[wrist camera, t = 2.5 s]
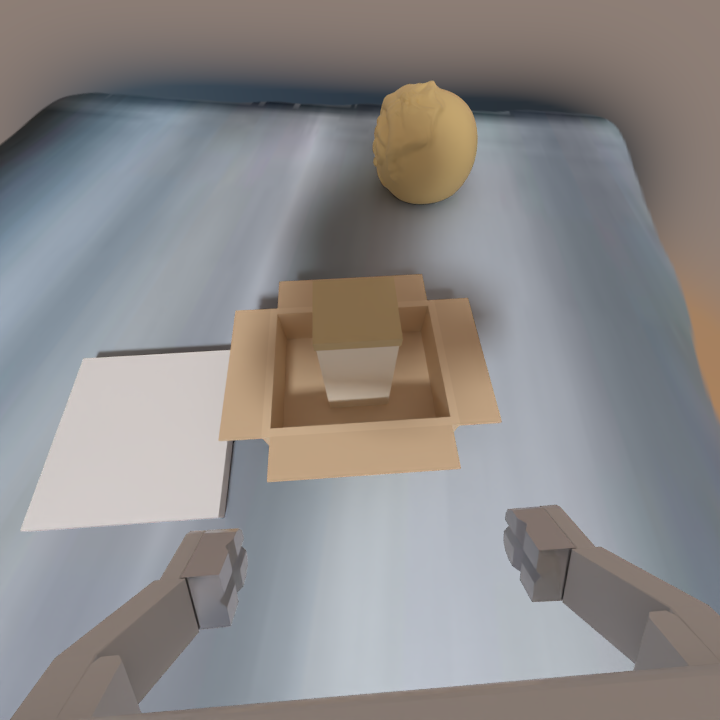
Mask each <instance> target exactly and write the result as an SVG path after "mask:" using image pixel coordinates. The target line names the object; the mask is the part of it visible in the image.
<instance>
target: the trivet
mask: <svg viewBox="0 0 720 720" xmlns="http://www.w3.org/2000/svg"><path fill="white" fill-rule="evenodd" d="M229 357H230V350H221V351H204V352H187V353H170V354H153V355H136V356H119V357H101V358H84V359H83V361H82V364H81V366H80V369H79V372H78V375H77V377H76V380H75V383H74V385H73V388H72V391H71V394H70V396H69V399H68V402H67V405H66V407H65V410H64V413H63V415H62V418H61V421H60V424H59V426H58V429H57V432H56V434H55V437H54V440H53V443H52V445H51V448H50V451H49V454H48V456H47V459H46V462H45V464H44V467H43V470H42V473H41V475H40V478H39V481H38V484H37V486H36V489H35V492H34V494H33V497H32V500H31V503H30V505H29V508H28V511H27V514H26V516H25V519H24V522H23V524H22V527H21V530H20V531H31V532H35V531H49V530H63V529H77V528H91V527H105V526H119V525H132V524H146V523H160V522H174V521H188V520H202V519H216V518H224V516H225V507H226V498H227V490H228V481H229V472H230V463H231V454H232V445H233V440H232V441H219V440H218V439H219V431H220V424H221V416H222V409H223V401H224V394H225V387H226V379H227V372H228V364H229Z"/></svg>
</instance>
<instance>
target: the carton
mask: <svg viewBox="0 0 720 720" xmlns="http://www.w3.org/2000/svg"><path fill="white" fill-rule="evenodd" d="M376 277H394V282H395V289H396V296H397V303H398V309H399V316H400V323H401V330H402V336H403V341H402V345H401V346H399V350H398V355H397V360H396V365H395V370H394V375H393V380H392V385H391V390H390V395H389V400H388V404H385V405H370V406H354V407H338V408H330V405H329V401H328V397H327V393H326V389H325V385H324V381H323V377H322V373H321V368H320V364H319V360H318V356H317V352H316V351H314V348H313V344H312V297H313V281H319V280H301V281H283V282H279V295H278V308H277V309H259V310H241V311H236V312H235V319H234V327H233V334H232V342H231V349H230V357H229V364H228V372H227V379H226V387H225V394H224V401H223V409H222V416H221V424H220V431H219V439H218V440H219V441H232V440H247V439H263V440H264V441H265V442H266V443H267V444H268V445H269V457H268V474H267V482H278V481H293V480H307V479H321V478H336V477H350V476H365V475H379V474H393V473H408V472H422V471H437V470H451V469H460V468H461V467H460V462H459V457H458V452H457V447H456V442H455V437H454V431H455V430H456V429H457V428H458V426H460V425H475V424H490V423H501V422H502V421H501V417H500V414H499V410H498V406H497V403H496V399H495V395H494V392H493V388H492V384H491V381H490V377H489V373H488V370H487V366H486V362H485V359H484V355H483V351H482V348H481V344H480V340H479V337H478V333H477V329H476V326H475V322H474V318H473V315H472V311H471V307H470V304H469V300H468V298H458V299H440V300H427V297H426V292H425V287H424V282H423V277H422V274H414V275H395V276H376ZM358 278H375V277H358ZM339 279H357V278H339ZM320 280H338V279H320Z"/></svg>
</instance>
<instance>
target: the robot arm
mask: <svg viewBox="0 0 720 720" xmlns="http://www.w3.org/2000/svg"><path fill="white" fill-rule="evenodd" d="M505 520H506V522H507V524H508V525H509V526H508V527H507V528H506V530H505V531H504V540H503V541H504V546H505V551H506V554H507V556H508V559H509V561H510V563H511V564H512V566H513V567H515V568H516V569H517V570H519V571H520V572H521V573H520V581H521V583H522V585H523V586H524V588H525V590H526V592H527V594H528V596H529V597H530V599H531V601H532V602H541V601H562V600H563V603H564V604H565V605H566V606H568V607H569V608H570V609H571V610H572V611H573V612H575V613H576V614H577V615H578V616H579V617H581V618H582V619H583V620H584V621H585V622H586V623H588V624H589V625H590V626H591V627H592V628H594V629H595V630H596V631H597V632H598V633H599V634H601V635H602V636H603V637H604V638H605V639H606V640H608V641H609V642H610V643H611V644H612V645H614V646H615V647H616V648H617V649H618V650H619V651H621V652H622V653H623V654H624V655H625V656H627V657H628V658H629V659H630V660H631V661H632V662H634V663H635V666H634V670H633V671H624V672H613V673H601V674H589V675H578V676H566V677H555V678H543V679H532V680H521V681H509V682H498V683H487V684H476V685H464V686H453V687H442V688H430V689H419V690H407V691H396V692H384V693H372V694H360V695H349V696H337V697H325V698H314V699H302V700H290V701H279V702H267V703H256V704H244V705H233V706H221V707H210V708H198V709H187V710H175V711H163V712H152V713H141V711H140V708H139V705H138V704H139V703H140V702H141V700H142V699H143V698H144V697H145V696H146V694H147V693H148V692H149V691H150V690H151V688H152V687H153V686H154V685H155V684H156V683H157V681H158V680H159V679H160V678H161V677H162V675H163V674H164V673H165V672H166V671H167V669H168V668H169V667H170V666H171V665H172V663H173V662H174V661H175V660H176V659H177V658H178V656H179V655H180V654H181V653H182V652H183V650H184V649H185V648H186V647H187V646H188V644H189V643H190V642H191V641H192V640H193V638H194V637H195V636H196V635H197V634H198V633H199V630H200V629H209V628H218V627H227V626H231V624H232V621H233V618H234V615H235V612H236V608H237V605H238V602H239V601H238V596H237V592H238V591H239V590H240V589H241V588H242V587H243V586H244V582H245V579H246V574H247V567H248V559H247V552H246V550H245V549H244V548H243V547H242V543H243V540H244V536H243V532H242V530H241V529H219V530H207V531H190V532H189V533H188V534H186V535H185V537H184V539H183V541H182V542H181V544H180V546H179V547H178V549H177V551H176V553H175V554H174V556H173V558H172V560H171V561H170V563H169V565H168V566H167V568H166V570H165V572H164V573H163V575H162V577H161V578H160V580H157V581H153V582H152V583H151V584H149V585H148V586H147V587H146V588H144V589H143V590H142V591H140V592H139V593H138V594H137V595H135V596H134V597H133V598H131V599H130V600H129V601H128V602H126V603H125V604H124V605H122V606H121V607H120V608H119V609H117V610H116V611H115V612H113V613H112V614H111V615H110V616H108V617H107V618H106V619H105V620H103V621H102V622H101V623H99V624H98V625H97V626H96V627H94V628H93V629H92V630H90V631H89V632H88V633H87V634H85V635H84V636H83V637H81V638H80V639H79V640H78V641H76V642H75V643H74V644H72V645H71V646H70V647H69V648H67V649H66V650H65V651H64V652H62V653H61V654H60V655H58V656H57V657H56V658H55V659H54V660H53V661H52V663H51V664H50V666H49V667H48V668H47V670H46V671H45V672H44V674H43V675H42V677H41V678H40V679H39V681H38V682H37V683H36V685H35V686H34V687H33V689H32V690H31V692H30V693H29V694H28V696H27V697H26V698H25V700H24V701H23V703H22V704H21V705H20V707H19V708H18V709H17V711H16V712H15V714H14V715H13V716H12V718H11V719H10V720H720V616H719V615H718V614H717V613H716V612H715V611H714V610H713V609H712V608H711V607H710V606H709V605H707V604H705V603H703V602H701V601H699V600H698V599H696V598H694V597H692V596H690V595H688V594H687V593H685V592H683V591H681V590H679V589H677V588H675V587H674V586H672V585H670V584H668V583H666V582H664V581H663V580H661V579H659V578H657V577H655V576H653V575H652V574H650V573H648V572H646V571H644V570H642V569H641V568H639V567H637V566H635V565H633V564H631V563H630V562H628V561H626V560H624V559H622V558H620V557H619V556H617V555H615V554H613V553H611V552H609V551H608V550H606V549H604V548H602V547H595V546H594V545H593V544H592V542H591V541H590V540H589V539H588V538H587V537H586V536H585V534H584V533H583V532H582V531H581V530H580V529H579V528H578V526H577V525H576V524H575V523H574V522H573V521H572V520H571V518H570V517H569V516H568V515H567V514H566V513H565V512H564V511H563V509H562V508H561V507H559V506H558V505H548V506H540V507H526V508H514V509H508V510H507V512H506V516H505Z"/></svg>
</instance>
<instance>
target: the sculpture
mask: <svg viewBox="0 0 720 720" xmlns="http://www.w3.org/2000/svg"><path fill="white" fill-rule="evenodd" d="M374 135H375V140H374V142H373V152H374V154H375V157H374V160H373V163H374V165H375V166H376V167H377V174H378V177H379V179H380V181H381V183H382V185H383V186H384V187H386V188H388V189H389V191H390V192H391V193H392V194H393V195H394V196H396V197H397V198H398V199H400V200H402V201H404V202H407V203H412V204H429V203H435V202H438V201H441V200H444V199H446V198H448V197H450V196H452V195H453V194H454V193H455V192H456V191H457V190H458V189H459V188H460V187H461V186H462V185H463V183H464V182H465V180H466V179H467V177H468V175H469V174H470V171H471V169H472V167H473V164H474V160H475V156H476V151H477V128H476V123H475V119H474V116H473V114H472V112H471V110H470V109H469V107H468V105H467V104H466V103H465V102H464V101H463V100H462V99H461V98H460V97H458V96H457V95H455V94H454V93H451V92H449V91H446V90H443V89H440V88H439V87H437V86H436V84H435V82H434V81H430V82H427V83H423V84H421V83H417V84H408V85H405V86H403V87H401V88H400V89H398V90H397V91H396V92H394V93H392V94H389V95H387V96H386V97H385V98H384V101H383V104H382V107H381V111H380V116H379V117H378V119H377V126H376V128H375V132H374Z"/></svg>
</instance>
